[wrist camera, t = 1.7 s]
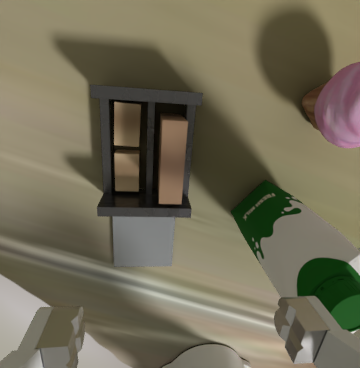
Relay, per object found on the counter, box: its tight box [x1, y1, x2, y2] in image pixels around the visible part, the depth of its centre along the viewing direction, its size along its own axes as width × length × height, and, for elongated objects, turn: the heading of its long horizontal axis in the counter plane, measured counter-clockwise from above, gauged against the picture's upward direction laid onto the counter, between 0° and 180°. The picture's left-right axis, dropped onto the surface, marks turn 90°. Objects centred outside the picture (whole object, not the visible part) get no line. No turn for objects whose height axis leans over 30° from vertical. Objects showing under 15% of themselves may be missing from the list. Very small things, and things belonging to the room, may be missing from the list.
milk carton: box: [231, 180, 360, 334], centre depth 28 cm, size 9×9×20 cm
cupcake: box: [302, 62, 360, 148], centre depth 28 cm, size 9×9×10 cm
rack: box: [90, 85, 203, 218], centre depth 30 cm, size 14×11×6 cm
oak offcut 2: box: [114, 149, 140, 192], centre depth 32 cm, size 5×3×2 cm, turn 176°
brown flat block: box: [158, 113, 188, 204], centre depth 29 cm, size 9×2×8 cm, turn 176°
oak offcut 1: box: [114, 101, 142, 147], centre depth 30 cm, size 5×3×2 cm, turn 174°
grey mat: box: [112, 216, 175, 267], centre depth 37 cm, size 10×9×1 cm
